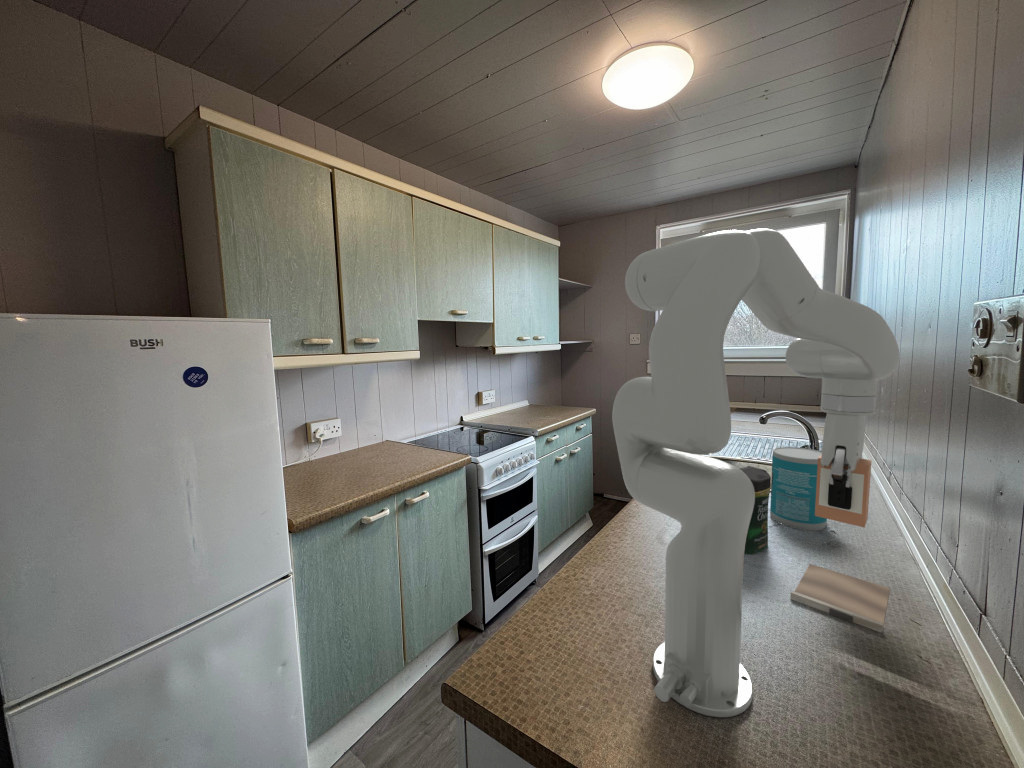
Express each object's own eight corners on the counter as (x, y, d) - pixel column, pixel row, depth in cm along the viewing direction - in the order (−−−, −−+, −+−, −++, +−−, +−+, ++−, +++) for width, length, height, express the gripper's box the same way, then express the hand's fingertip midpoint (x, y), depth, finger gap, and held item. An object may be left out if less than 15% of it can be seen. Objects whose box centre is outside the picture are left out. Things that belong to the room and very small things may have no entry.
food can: (761, 510, 111) (763, 446, 110) (808, 511, 110) (811, 446, 108) (785, 530, 100) (788, 459, 98) (838, 531, 98) (842, 459, 96)
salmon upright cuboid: (864, 527, 70) (868, 465, 69) (814, 515, 75) (817, 458, 74) (867, 519, 73) (871, 460, 72) (819, 508, 78) (822, 453, 77)
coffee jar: (751, 563, 85) (754, 478, 83) (715, 547, 92) (717, 468, 90) (774, 550, 90) (778, 469, 88) (739, 536, 97) (741, 461, 95)
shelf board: (881, 640, 63) (882, 626, 63) (789, 605, 71) (790, 593, 71) (889, 594, 74) (890, 582, 74) (809, 569, 83) (810, 558, 82)
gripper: (829, 397, 80) (824, 486, 82) (811, 408, 69) (806, 511, 71) (880, 400, 75) (873, 495, 77) (870, 412, 63) (862, 524, 65)
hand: (841, 501), depth 74 cm, fingers closed on salmon upright cuboid, 4 cm apart
